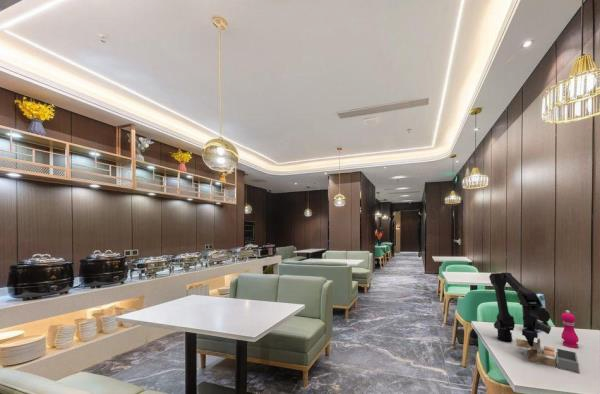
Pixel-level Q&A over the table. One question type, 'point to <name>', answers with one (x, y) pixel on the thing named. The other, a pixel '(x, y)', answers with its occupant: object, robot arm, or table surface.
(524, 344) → the scraper
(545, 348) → the tile
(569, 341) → the pepper mill
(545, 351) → the tile
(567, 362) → the box
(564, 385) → the table surface
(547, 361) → the bench
